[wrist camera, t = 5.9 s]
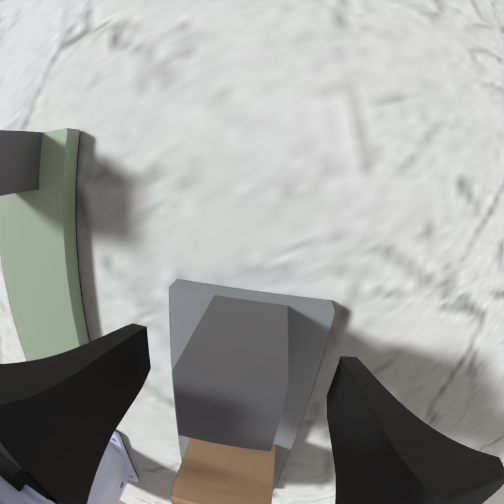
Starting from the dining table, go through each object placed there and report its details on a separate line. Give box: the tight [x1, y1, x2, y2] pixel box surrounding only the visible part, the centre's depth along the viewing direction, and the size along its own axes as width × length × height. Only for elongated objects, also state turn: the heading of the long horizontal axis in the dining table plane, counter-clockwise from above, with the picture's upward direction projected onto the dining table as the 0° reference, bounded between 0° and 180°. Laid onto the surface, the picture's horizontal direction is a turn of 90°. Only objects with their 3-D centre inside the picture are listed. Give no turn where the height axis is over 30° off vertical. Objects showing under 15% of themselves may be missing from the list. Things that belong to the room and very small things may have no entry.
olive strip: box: [0, 128, 89, 361], centre depth 11 cm, size 18×7×6 cm, turn 174°
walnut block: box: [170, 438, 276, 504], centre depth 12 cm, size 5×5×5 cm
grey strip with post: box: [169, 279, 335, 492], centre depth 12 cm, size 18×7×6 cm, turn 174°
